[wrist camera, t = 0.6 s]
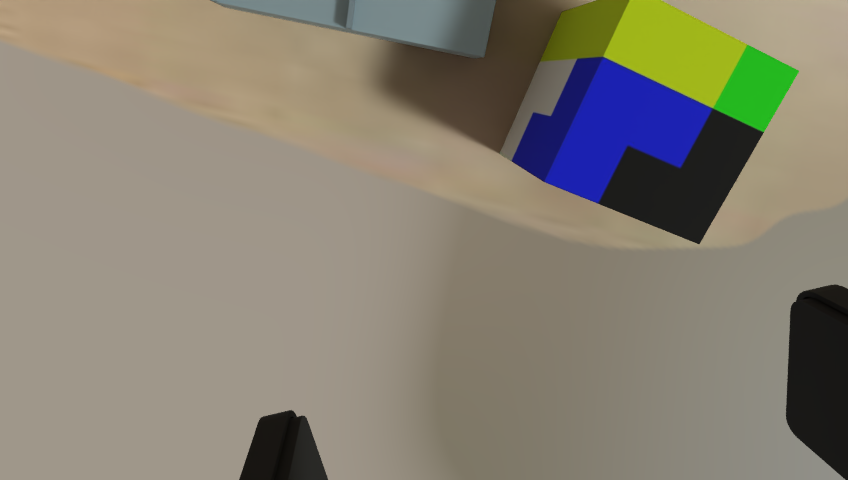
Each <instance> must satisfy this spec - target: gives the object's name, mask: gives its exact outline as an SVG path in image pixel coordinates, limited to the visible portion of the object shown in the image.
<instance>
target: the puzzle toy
mask: <svg viewBox="0 0 848 480" xmlns="http://www.w3.org/2000/svg"><path fill="white" fill-rule="evenodd" d="M798 72H799V71H798V70H796V69H794V68H792V67H790V66H788V65H786V64H784V63H782V62H780V61H779V60H777V59H775V58H773V57H771V56H769V55H767V54H765V53H763V52H761V51H759V50H757V49H755V48H753V47H751V46H749V45H747V44H745V43H743V42H741V41H739V40H737V39H735V38H734V37H732V36H730V35H728V34H726V33H724V32H722V31H720V30H718V29H716V28H714V27H712V26H710V25H708V24H706V23H704V22H702V21H700V20H698V19H696V18H694V17H692V16H690V15H689V14H687V13H685V12H683V11H681V10H679V9H677V8H675V7H673V6H671V5H669V4H667V3H665V2H663V1H661V0H596V1H593V2H590V3H587V4H584V5H581V6H578V7H575V8H572V9H569V10H566V11H563V12H562V13H561V15H560V17H559V20H558V22H557V24H556V26H555V29H554V31H553V33H552V35H551V38H550V40H549V42H548V45H547V47H546V49H545V51H544V54H543V56H542V58H541V60H540V63H539V65H538V67H537V70H536V72H535V74H534V76H533V79H532V81H531V83H530V85H529V88H528V90H527V92H526V95H525V97H524V99H523V101H522V104H521V106H520V108H519V110H518V113H517V115H516V117H515V120H514V122H513V124H512V126H511V129H510V131H509V133H508V135H507V138H506V140H505V142H504V145H503V147H502V149H501V151H500V154H501V155H502V156H504V157H506V158H507V159H509V160H510V161H512V162H513V163H515V164H517V165H518V166H520V167H521V168H523V169H524V170H526V171H528V172H529V173H531V174H532V175H534V176H536V177H537V178H539V179H540V180H542V181H543V182H546V183H548V184H551V185H553V186H555V187H558V188H560V189H563V190H565V191H568V192H570V193H573V194H575V195H578V196H580V197H583V198H585V199H588V200H590V201H593V202H595V203H598V204H600V205H603V206H605V207H608V208H610V209H613V210H615V211H618V212H620V213H623V214H625V215H628V216H630V217H633V218H635V219H638V220H640V221H643V222H645V223H648V224H650V225H652V226H655V227H657V228H660V229H662V230H665V231H667V232H670V233H672V234H675V235H677V236H680V237H682V238H685V239H687V240H690V241H692V242H695V243H697V244H700V242H701V240H702V239H703V237H704V235H705V233H706V232H707V230H708V228H709V226H710V225H711V223H712V221H713V219H714V218H715V216H716V214H717V213H718V211H719V209H720V207H721V206H722V204H723V202H724V200H725V199H726V197H727V195H728V193H729V192H730V190H731V188H732V187H733V185H734V183H735V181H736V180H737V178H738V176H739V174H740V173H741V171H742V169H743V167H744V166H745V164H746V162H747V161H748V159H749V157H750V155H751V154H752V152H753V150H754V148H755V147H756V145H757V143H758V141H759V140H760V138H761V136H762V135H763V133H764V131H765V129H766V128H767V126H768V124H769V122H770V121H771V119H772V117H773V115H774V114H775V112H776V110H777V109H778V107H779V105H780V103H781V102H782V100H783V98H784V96H785V95H786V93H787V91H788V90H789V88H790V86H791V84H792V83H793V81H794V79H795V77H796V76H797V74H798Z"/></svg>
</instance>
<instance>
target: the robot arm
mask: <svg viewBox="0 0 848 480" xmlns="http://www.w3.org/2000/svg"><path fill="white" fill-rule="evenodd" d="M786 419H787V423H788V425H789V427H790V429H791V431H792V432H793V433H794V435H795V436H797V438H799V439H800V440H801V441H802V442H803V443H804V444H805V445H806V446H808V447H809V448H810V449H811V450H812V451H813V452H815V453H816V454H817V455H818V456H819V457H820V458H822V460H824V461H825V462H826V463H827V464H828V465H829V466H831V467H832V468H833V469H834V470H835V471H836V472H837V473H839V474H840V475H841V476H842V477H843V478H845V479H846V480H848V289H847V288H845V287H843V286H839V285H829V286H824V287H820V288H816V289H812V290H808V291H803V292H802V293H800V294H799V295H798V297H797V300H796V302H794V303H793V304H792V306H791V312H790V335H789V359H788V382H787V405H786ZM239 480H328V478H327V475H326V472H325V470H324V467H323V464H322V461H321V458H320V455H319V452H318V450H317V446H316V443H315V441H314V438H313V435H312V432H311V429H310V426H309V424H308V421H307V418H306V417H305V416H299V417H297V416H296V414H295V413H294V411H292V410H289V411H285V412H281V413H277V414H272V415H268V416H264V417H262V418H261V419H260V420H259V422H258V425H257V428H256V431H255V435H254V437H253V440H252V443H251V446H250V449H249V452H248V455H247V458H246V461H245V464H244V467H243V470H242V473H241V476H240V479H239Z"/></svg>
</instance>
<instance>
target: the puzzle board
mask: <svg viewBox="0 0 848 480" xmlns="http://www.w3.org/2000/svg"><path fill="white" fill-rule="evenodd" d="M210 1H213V2H215V3H217V4H219V5H221V6H224V7H226V8H230V9H235V10H240V11H245V12H249V13H254V14H259V15H264V16H269V17H274V18H279V19H284V20H289V21H294V22H299V23H303V24H308V25H313V26H318V27H323V28H328V29H333V30H338V31H343V32H348V33H353V34H358V35H362V36H367V37H372V38H377V39H382V40H387V41H392V42H397V43H402V44H407V45H412V46H417V47H421V48H426V49H431V50H436V51H441V52H446V53H451V54H456V55H461V56H466V57H471V58H481V57H484V56H485V51H486V46H487V42H488V37H489V32H490V27H491V22H492V17H493V13H494V8H495V3H496V0H210Z"/></svg>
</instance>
